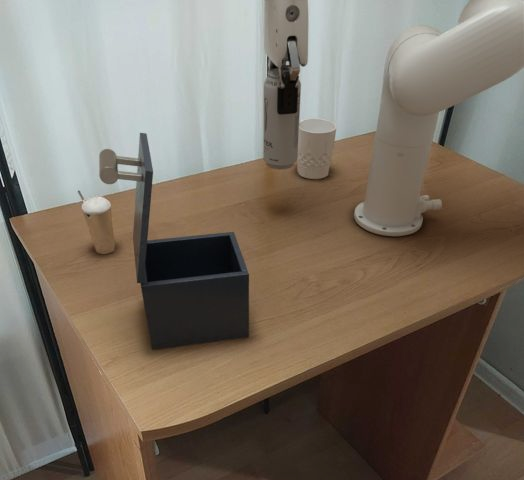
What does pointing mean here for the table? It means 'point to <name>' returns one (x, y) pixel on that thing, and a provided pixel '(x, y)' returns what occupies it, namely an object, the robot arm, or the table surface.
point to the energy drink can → (279, 126)
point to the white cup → (315, 147)
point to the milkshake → (99, 223)
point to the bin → (195, 290)
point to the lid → (143, 193)
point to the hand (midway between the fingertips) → (281, 105)
